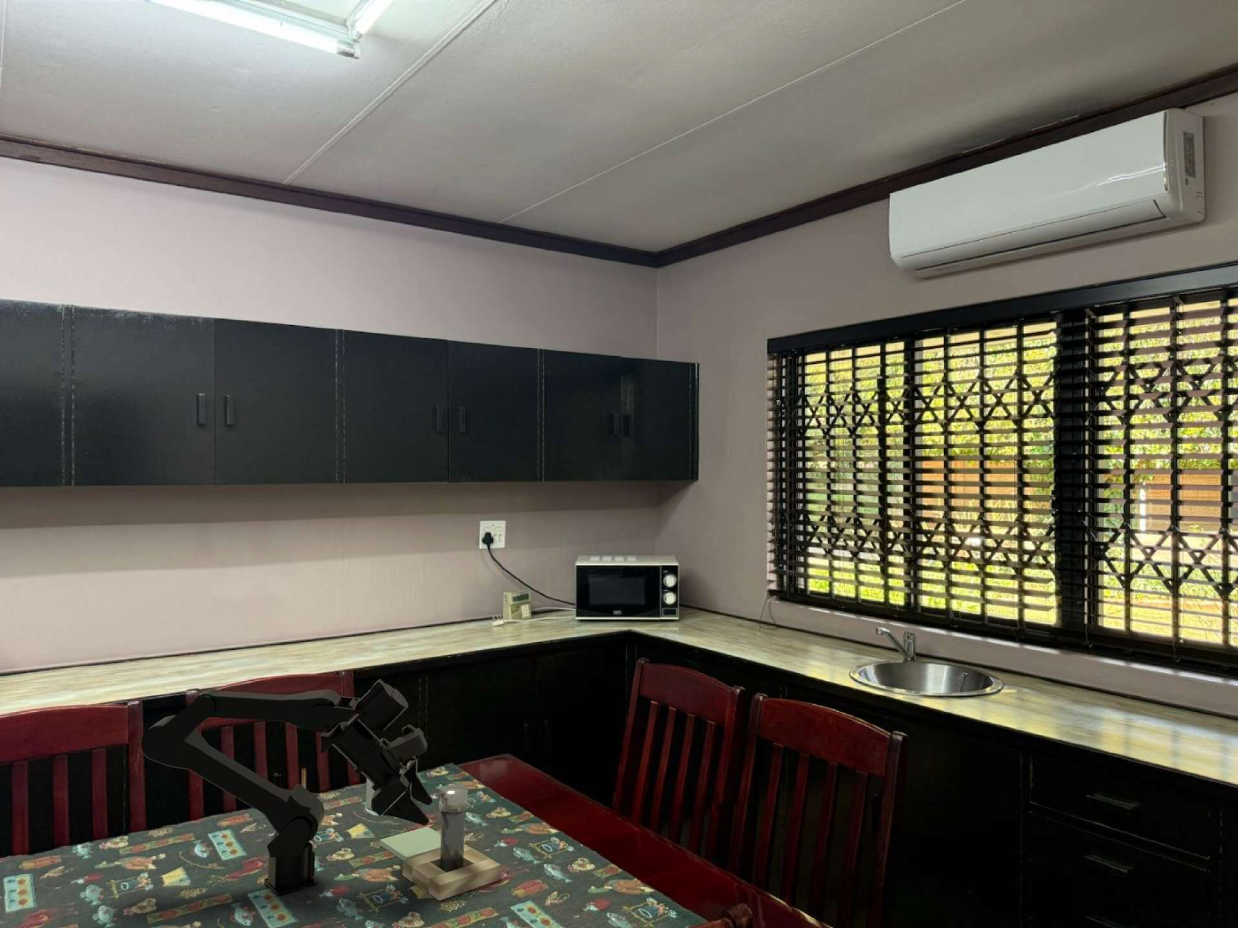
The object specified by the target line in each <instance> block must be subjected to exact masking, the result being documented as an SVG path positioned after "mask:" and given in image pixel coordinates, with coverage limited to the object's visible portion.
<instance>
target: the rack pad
mask: <svg viewBox="0 0 1238 928" xmlns="http://www.w3.org/2000/svg"><path fill="white" fill-rule="evenodd" d="M440 843H441V833H440V832H437V831H436V830H434V829H433V828H430V827H429V826H425V827H424V826H423V827H420V828H418V829H414V830H411V831H407V832H402V833H399V834H396V835H392V836H389V837H385V838H382V839H380V840H379V846H381V847H382V848H383V849H385V850H386V851H388V852H390V853H391V854H392V855H394V856H396V857H397V858H399V859H400V860H401V861H402V862H403V861H404V860H407V859H411V858H414V857H417V856H421V855H424V854H427V853H431V852H434V851H437V850H440Z"/></svg>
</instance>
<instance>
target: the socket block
mask: <svg viewBox="0 0 1238 928" xmlns="http://www.w3.org/2000/svg"><path fill="white" fill-rule="evenodd" d="M402 876H403V877H405V878H406V879H407V880H409V881H410V882H412V883H413V884H414V885H416V886H417V887H419V888H420V889H422V890H423V891H425V892H426V893H428V894H429V895H431V896H432V897H433V898H435V899H436V900H437V901H443V900H445V899H449V898H450V897H453V896H457V895H460V894H462V893H465V892H468V891H471V890H475V889H477V888H480V887H482V886H485V885H489V884H492V883H494V882H497V881H500V879H501V876H502V864H501V863H499V862H497V861H495V860H493V859H492V858H490V857H488V856H486V855H485V854H483V853H481V852H479V851H478V850H475V848H473V847H471V846H469V845H467V844H466V843H464V867H463V868H460V869H456V870H453V871H450V872H447V873H446V872H445V871H443V870H441V869H440V850H437V851H434V852H431V853H427V854H424V855H421V856H417V857H414V858H411V859H407V860H404V861H403V860H402Z"/></svg>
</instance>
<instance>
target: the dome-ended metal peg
mask: <svg viewBox="0 0 1238 928" xmlns="http://www.w3.org/2000/svg"><path fill="white" fill-rule="evenodd" d="M438 792H439V793H438V795H439V796H438V801H439V802H438V809H439V811H440V812H441V813H440V815H441V816H440V834H441V843H440V869H441V870H443V871H445V872H446V873H447V872H450V871H453V870H456V869H460V868H463V867H464V844H465V822H466V820H465V819H466V809H467V808H468V803H469V802H468V798H469V797H468V795H469V794H468V793H469V788H468V787H467V786H465V785H461V784H449V785H444V786H442V787H440V788H439V791H438Z"/></svg>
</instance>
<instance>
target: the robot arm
mask: <svg viewBox="0 0 1238 928" xmlns="http://www.w3.org/2000/svg"><path fill="white" fill-rule="evenodd" d="M407 708H409V703H408V701H407V700H406V698H405V697H404V696H403V694H401V692H400V691H399V690H398V689H397V688H393V687H392V686H391V685H390V684H387V683H385V682H384V681H383V680H382V679H381V678H380V679H378V680H377V681H376V682H374V684H373V686H372V687H371V688H370V689H369V690H368V691H367V692H366V693H365V694H364V695H363V696H362V697H361V698H359V697H352V696H343V695H340V694H338V692H337V691H335V690H334V689H333V690H332V689H327V688H326V689H317V690H308V691H304V692H303V691H302V692H299V693H294V694H276V693H275V694H274V693H258V692H243V691H228V690H219V689H215V688H208V689H206V690H204V691H203V692H201V693H200V694H199V695H198V696H196V697H195V698H194V700H193V701H192V702H191V703H190V704H188V706H186V707H185V708H184V709H183V710H181V711H180V712H179V713H177V714H172V715H170V716H165V717H163V718H162V719H161V720H159V721H157V722H155V724H153V725H152V726H151V727H149V728H148V729H147V730H146V731H145V732H144V733H143V735H142V737H141V740H140V747H141V753H142V754H143V756H144V757H146V758H147V760H148V759H149V760H151V761H153V762H155V763H159V764H161V765H164V766H166V767H170V768H176V769H183V770H188V771H191V772H192V773H194V774H196V775H197V776H198V777H200V778H203V779H204V780H206V781H207V782H209V783H211V784H213V785H214V786H216V787H217V788H219V789H221V790H222V791H224V792H226V793H228V794H229V795H231V796H232V797H234V798H236V799H237V800H239V801H241V802H243V803H244V804H246V805H247V806H249V807H251V808H252V809H254V810H256V811H258V812H260V814H262V815H263V816H264V817H265V818H266V819H267V821H268V822H269V824H270V825H271V827H272V828H273V829H274V833H273V835H272V837H271V839H270V840H269V842H268V843H267V844H266V848H267V850H268V865H267V867H268V869H267V873H268V875H267V877H265V878H264V879H263V883H264V884H265V885H266V886H267V887H268V888H270V890H272V891H273V892H274V893H275V894H276V895H278V896H281V895H285V894H287V893H292V892H294V891H298V890H301V889H304V888H308V887H311V886H315V885H317V880H316V879H314V877H315V873H316V872H315V870H316V852H315V851H314V849H313V848H314V847H313V843H312V842H310V841H312V840H313V839H314V838H315V837H316V835H317V833H318V831H319V829H320V827H321V825H322V823H323V822H324V818H325V815H326V813H325V812H326V810H325V806H324V803H323V802H322V801H321V800H320V799H319V798H318V796H319V794H318V793H314V792H311V791H309V790H308V789H307V788H306V787H304V786H303V785H302V784H300V783H296V785H295V787H294V788H293V789H285V788H281V787H279V786H277V785H276V784H274V783H272V782H271V781H269V780H268V779H265V778H264V777H263V776H261V775H259V774H257V773H256V772H254V771H253V770H251V769H249V768H248V767H246V766H244V765H243V764H241V763H239V762H237V761H236V760H234V759H232V758H230V757H229V756H227V755H226V754H225V753H222V752H221V751H219V750H218V749H216V748H214V747H212V746H211V745H209V744H208V742H207V741H206V740H205V738H204V737H203V735H202V734H201V732H200V731H199V730H198V728H197V727H199V725H201V724H202V723H203V722H204V721H205V720H207V719H209V718H217V719H219V718H221V719H223V718H224V719H237V720H251V721H252V720H254V721H269V722H270V721H271V722H282V723H286V724H289V725H291V726H294V727H296V728H299V729H302V730H307V731H311V732H314V733H315V732H316V733H321V735H320V737H319V740H320V750H319V752H320V754H325V752H326V751H328V750H329V748H331V746H333V747H334V748H335V749H336V750H337V751H338V752H339V753H340V754H341V755H342V756H343V757H344V758H345V759H347V760H348V762H350V763H351V765H353V767H355V768H354V770H353V771H354V773H356V775H358V776H359V775H360V774H362V775H363V776H364V777H365V778H366V780H367V779H368V780H369V781H370V782H371V783H372V784H373V785H372V789H373V790H374V791H375V792H374V794H373V797H372V800H371V809H372V810H371V809H370V810H371V811H374V813H375V814H376V815H377V816H379V817H381V816H384V817H386V816H388V817H393V818H397V819H402V820H405V821H408V822H412V823H415V824H417V825H418V824H419V825H421V826H423V827H424V826H425V827H426V826H427V825H428V824H429V823H430V819H429V817H428V816H427V815H426V813H425V812H424V810H423V809H422V807H421V806H420V805H419V804H418V803H417V802H419V803H421V804H423V805H426V806H430V805H431V804H433V802H434V800H433V798H432V796H431V795H430V793H429V791H428V790H427V788H426V785H424V783H423V781H422V779H421V778H420V776H419V774H418V758H416V756H421V755H423V754H424V753H426V751H427V748H428V743H427V740H426V738H425V736H424V731H423V730H421V728H420V727H417V728H416V727H414V726H413V725H412V724H408V725H406V726H403V727H402V730H401V736H398V737H397V738H396V739H395V740H393V741H391V742H390V741H389V740H388V739H387V738H385V737H384V738H383V737H382V738H381V739H379V737H377V736H376V734H374V733H373V732H377V731H378V730H379V731H382V732H383V731H385V730H386V729H387V728H388V727H389V726H390V725H392V723H393V722H394V721H395V720H396V719H398V717H400V716H401V714H402V713H403V712H405V710H407ZM354 715H355V716H354ZM353 716H354V717H353ZM352 717H353V718H352ZM336 724H337V725H336ZM335 725H336V726H335ZM333 726H335V727H334V728H333ZM332 728H333V729H332ZM330 729H332V730H331V731H330V732H326V731H328V730H330ZM372 731H373V732H372ZM410 760H411V761H413V760H414V761H413V762H412V763H411V764H410V763H409V761H410Z"/></svg>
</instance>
